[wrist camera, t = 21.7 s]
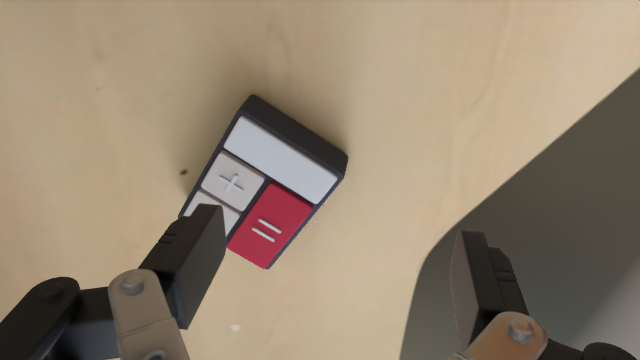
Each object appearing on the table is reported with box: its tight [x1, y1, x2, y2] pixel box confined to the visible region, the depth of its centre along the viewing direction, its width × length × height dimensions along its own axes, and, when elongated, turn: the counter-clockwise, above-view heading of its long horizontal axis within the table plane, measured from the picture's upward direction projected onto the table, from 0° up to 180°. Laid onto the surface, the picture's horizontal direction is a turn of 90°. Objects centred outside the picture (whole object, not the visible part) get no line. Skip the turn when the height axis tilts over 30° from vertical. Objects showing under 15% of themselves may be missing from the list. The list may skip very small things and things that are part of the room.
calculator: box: [178, 95, 348, 269], centre depth 44 cm, size 11×4×15 cm
